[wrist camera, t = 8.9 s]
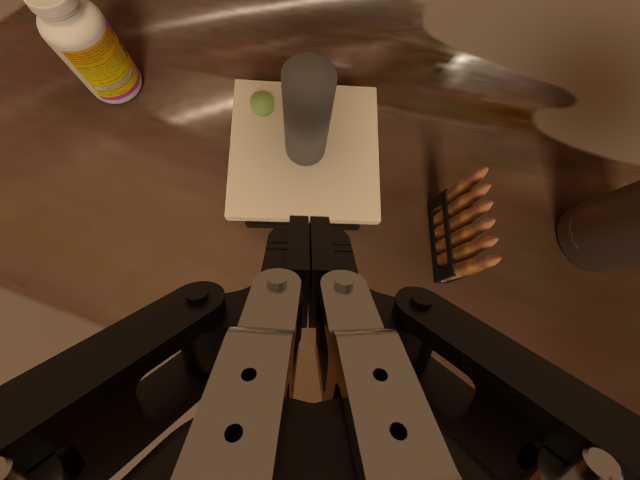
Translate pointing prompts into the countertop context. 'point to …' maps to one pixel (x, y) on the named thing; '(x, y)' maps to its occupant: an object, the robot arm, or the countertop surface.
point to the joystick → (304, 147)
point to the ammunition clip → (460, 230)
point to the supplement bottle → (88, 47)
